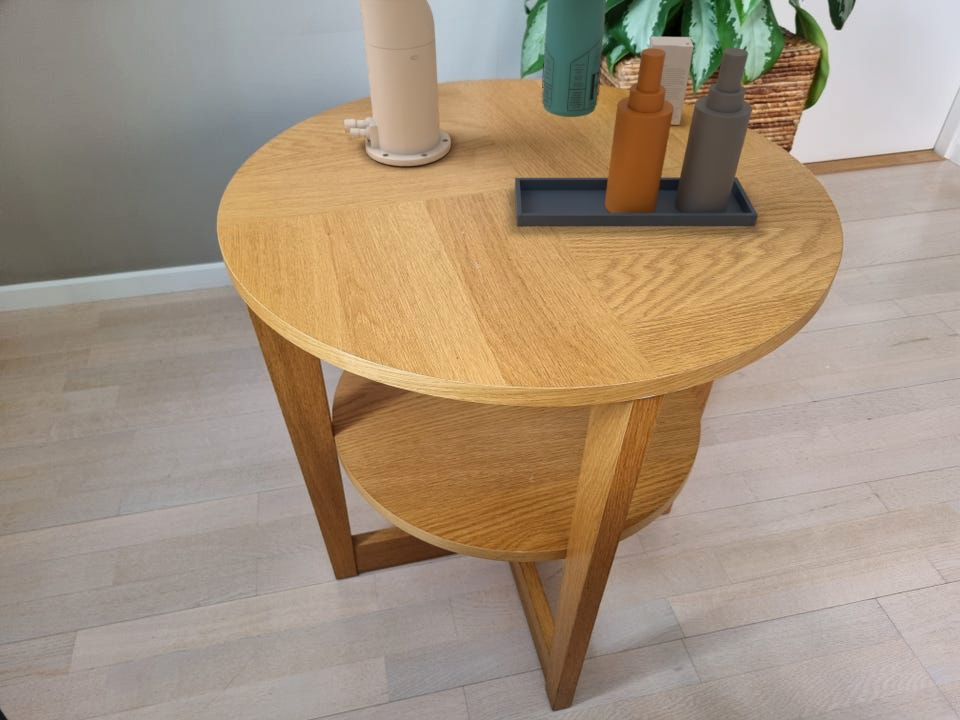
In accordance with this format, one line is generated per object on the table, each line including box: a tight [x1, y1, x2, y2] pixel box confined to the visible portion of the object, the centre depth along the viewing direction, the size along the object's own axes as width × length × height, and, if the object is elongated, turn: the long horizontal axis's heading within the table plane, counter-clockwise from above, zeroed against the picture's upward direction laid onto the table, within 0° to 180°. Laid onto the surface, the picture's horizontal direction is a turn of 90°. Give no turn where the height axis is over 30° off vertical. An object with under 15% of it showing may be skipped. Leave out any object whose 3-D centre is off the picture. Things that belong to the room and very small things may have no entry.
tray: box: [514, 176, 759, 227], centre depth 89 cm, size 29×10×2 cm, turn 90°
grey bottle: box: [675, 47, 753, 213], centre depth 83 cm, size 6×6×19 cm
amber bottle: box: [605, 47, 674, 213], centre depth 83 cm, size 6×6×19 cm
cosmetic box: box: [648, 36, 695, 126], centre depth 107 cm, size 6×4×12 cm
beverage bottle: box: [541, 0, 607, 118], centre depth 75 cm, size 6×7×20 cm
